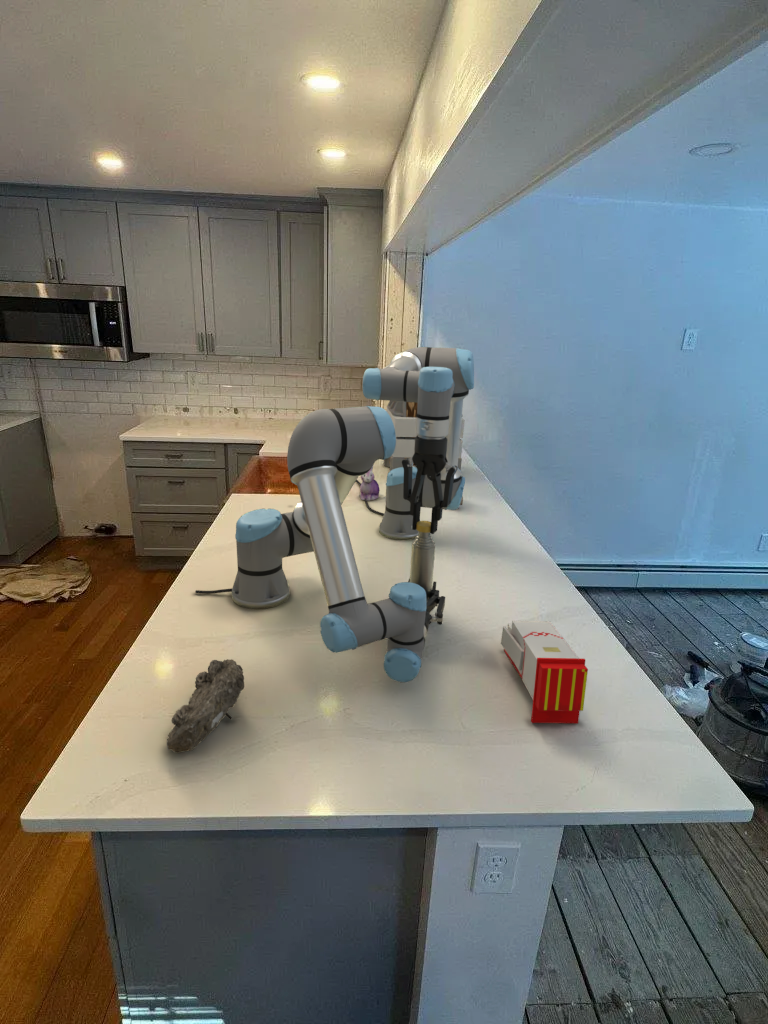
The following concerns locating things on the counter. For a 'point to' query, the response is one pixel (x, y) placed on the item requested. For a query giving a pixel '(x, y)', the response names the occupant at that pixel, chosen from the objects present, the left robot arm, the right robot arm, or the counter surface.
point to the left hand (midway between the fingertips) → (422, 584)
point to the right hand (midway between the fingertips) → (424, 529)
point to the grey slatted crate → (407, 433)
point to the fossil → (206, 705)
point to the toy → (547, 670)
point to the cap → (423, 526)
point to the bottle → (423, 562)
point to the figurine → (369, 487)
